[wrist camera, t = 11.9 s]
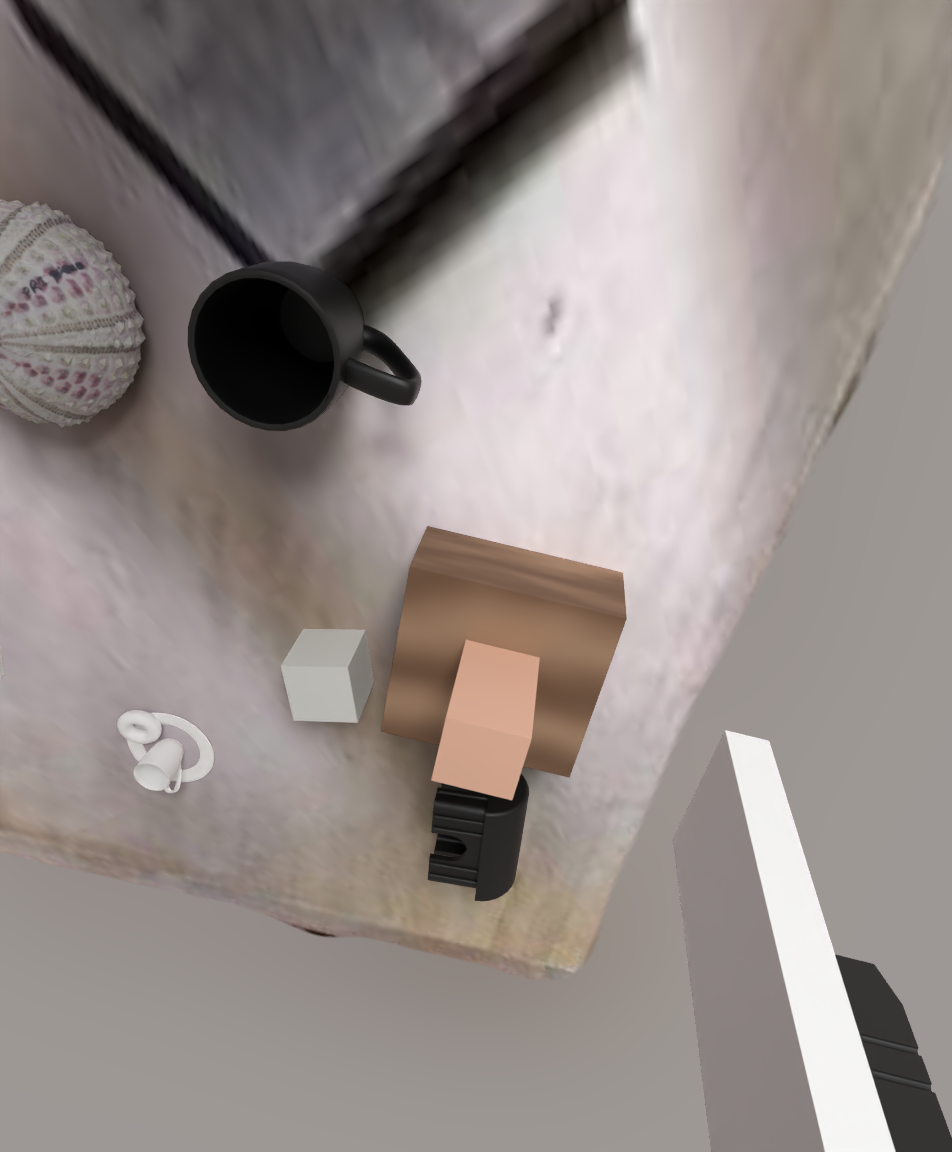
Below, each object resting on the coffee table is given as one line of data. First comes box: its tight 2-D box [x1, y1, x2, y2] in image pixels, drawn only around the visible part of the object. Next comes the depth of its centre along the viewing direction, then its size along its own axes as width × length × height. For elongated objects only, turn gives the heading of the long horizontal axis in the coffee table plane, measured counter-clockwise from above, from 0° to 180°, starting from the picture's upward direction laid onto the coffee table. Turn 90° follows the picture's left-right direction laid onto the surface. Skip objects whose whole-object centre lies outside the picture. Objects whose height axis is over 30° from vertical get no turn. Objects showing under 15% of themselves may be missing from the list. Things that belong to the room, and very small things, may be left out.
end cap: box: [428, 774, 529, 901], centre depth 62 cm, size 10×7×7 cm
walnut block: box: [381, 526, 627, 777], centre depth 54 cm, size 14×14×6 cm
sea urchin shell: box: [0, 199, 146, 427], centre depth 45 cm, size 13×14×8 cm
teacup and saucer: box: [117, 710, 214, 793], centre depth 65 cm, size 9×8×4 cm
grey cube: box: [281, 629, 374, 723], centre depth 57 cm, size 5×5×5 cm
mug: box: [188, 262, 421, 431], centre depth 43 cm, size 8×12×10 cm
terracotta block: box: [431, 640, 540, 800], centre depth 47 cm, size 5×5×8 cm
